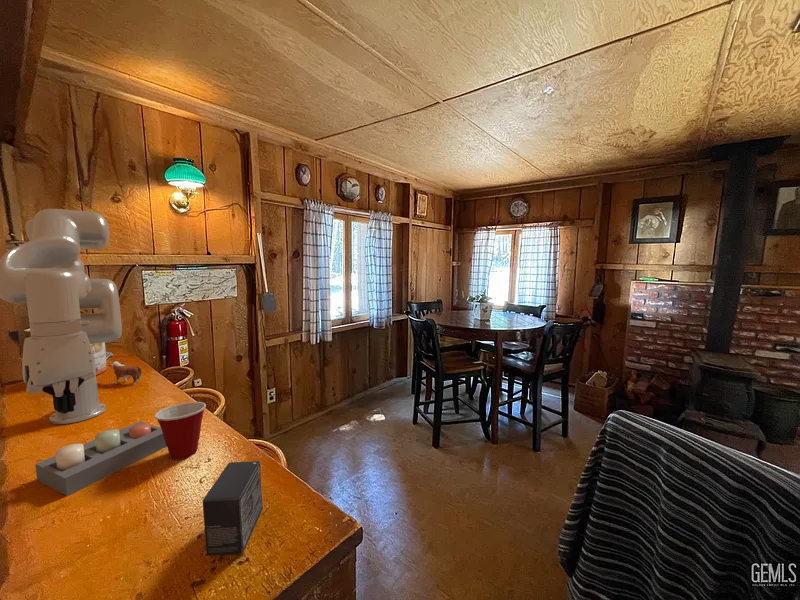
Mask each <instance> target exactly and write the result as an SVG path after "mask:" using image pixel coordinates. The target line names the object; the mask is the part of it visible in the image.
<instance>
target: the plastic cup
mask: <svg viewBox="0 0 800 600" xmlns="http://www.w3.org/2000/svg"><path fill="white" fill-rule="evenodd" d="M206 407H207V405H206V403H205V402H202V401H190V402H188V401H187V402H183V403H177V404H174V405H171V406H166V407H165V408H162V409H160V410H159V411H157V412H156V413H154V418H155V419H156V420H157V422H158V424H159V427H160V428H161V429H162V433H163V436H164V439H165V443H166V446H167V447H166V448H167V450H168V455H169V457H170V458H171V460H177V461H178V460H184V459H188V458H190V457H192V456H194V455H195V454H196V452H198V449H199V442H200V440H199V439H200V438H201V437H200V435H201V429H202V421H203V417H204V416H203V415H204V412H205V409H206Z"/></svg>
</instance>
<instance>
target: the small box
mask: <svg viewBox="0 0 800 600" xmlns="http://www.w3.org/2000/svg"><path fill="white" fill-rule="evenodd" d="M262 492H263V491H262V473H261V460H253V461H251V460H250V461H249V460H248V461H231V462H229V461H228V463H227V465H226V466H225V468H224V469H223V471H222V472H221V473H220V475H219V476H218V477H217V479H216V481H215V482H214V483H213V485H212V486H211V487H210V489H209V490H208V492H207V493H206V495H205V496H203V497H204V498H203V499H202V512H203V524H204V525H203V526H204V538H205V539H204V540H205V552H206V553H205V554H206V557H207V556H227V555H228V554H229V555H242V554H243V553H244V552H245V550H246V548H247V546H248V543H249V540H250V539H251V536H252V534H253V532H254V529H255V527H256V525H257V523H258V520H259V518H260V516H261V514H262V510H263V509H264V506H263V505H264V504H263V497H262V496H263V495H262V494H263V493H262ZM241 553H242V554H241ZM229 555H228V556H229Z"/></svg>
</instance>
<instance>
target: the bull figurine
mask: <svg viewBox="0 0 800 600" xmlns="http://www.w3.org/2000/svg"><path fill="white" fill-rule="evenodd" d="M108 367H110V368H111V367H112V368H113V371H114V374H115V377H116V378H115V382H114V385H117V384H119V380H120V378H123V383H127V381H128V380H127V378H128V379H131V377H132V379H133V383H132V386H135V385H137V382H139V381H140V380H141V378H142V367H141V366H139V365H126V364H124V362H122V361H121V362H119V361H114V362H112V363H110V364H108Z"/></svg>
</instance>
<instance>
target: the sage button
mask: <svg viewBox="0 0 800 600" xmlns="http://www.w3.org/2000/svg"><path fill="white" fill-rule="evenodd" d="M119 430H120V429H116V428H114V429H108V430H107V429H106V430H103V431H101V432H99V433H97V434H96V435H95V437H94V438H95V439H94V440H95V442H96V452H97V453H100V454H103V453H106V452H108V451H110V450H112V449H115V448H117V447H119V446H121V444H120V433H119Z"/></svg>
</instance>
